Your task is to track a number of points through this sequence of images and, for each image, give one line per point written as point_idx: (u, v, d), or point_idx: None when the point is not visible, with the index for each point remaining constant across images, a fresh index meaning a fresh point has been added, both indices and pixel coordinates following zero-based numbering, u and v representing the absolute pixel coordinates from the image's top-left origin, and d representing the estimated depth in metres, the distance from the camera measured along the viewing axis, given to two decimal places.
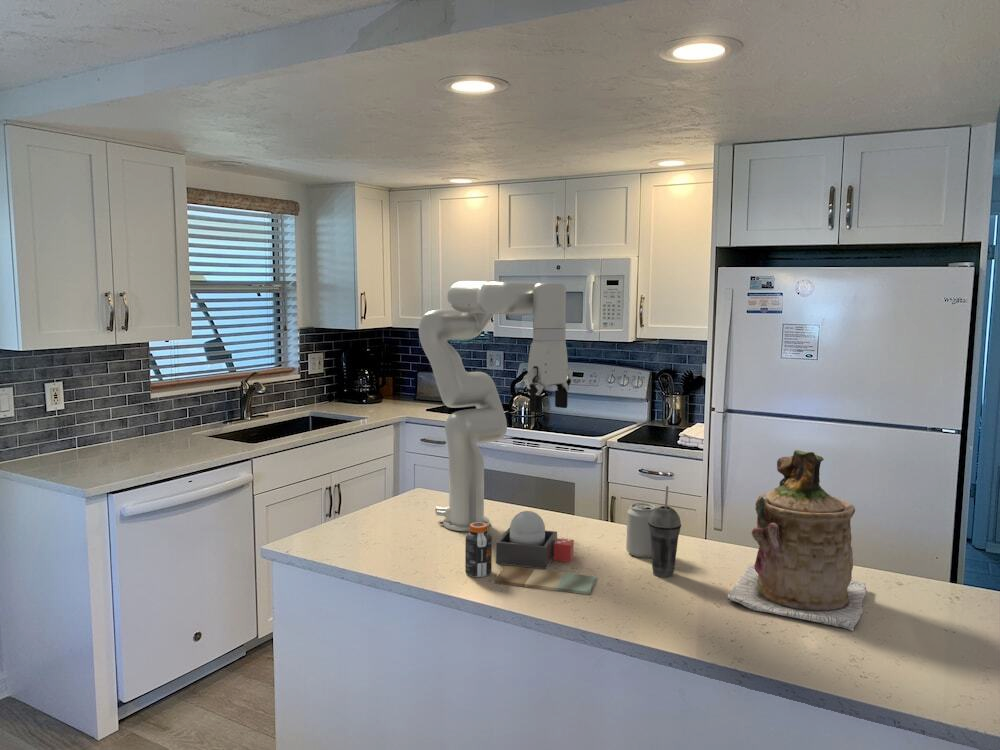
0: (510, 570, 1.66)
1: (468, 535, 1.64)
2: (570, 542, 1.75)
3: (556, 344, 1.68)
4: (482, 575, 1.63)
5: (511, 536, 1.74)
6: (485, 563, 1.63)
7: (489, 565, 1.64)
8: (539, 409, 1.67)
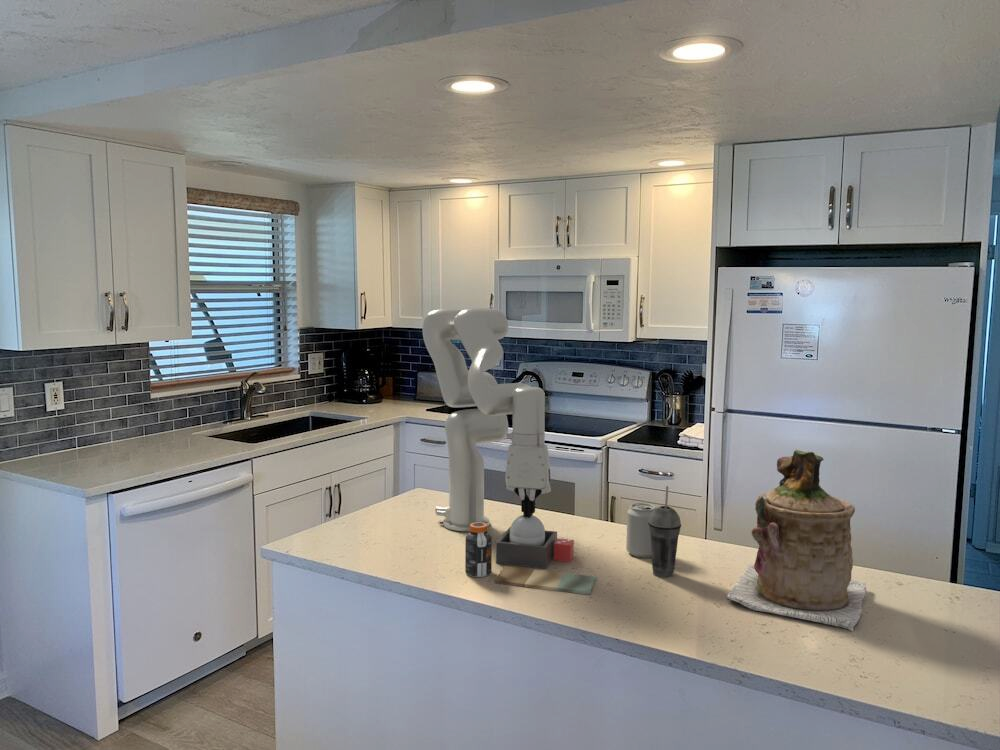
0: (510, 570, 1.66)
1: (468, 535, 1.64)
2: (570, 542, 1.75)
3: None
4: (482, 575, 1.63)
5: (511, 540, 1.74)
6: (485, 563, 1.63)
7: (489, 565, 1.64)
8: None
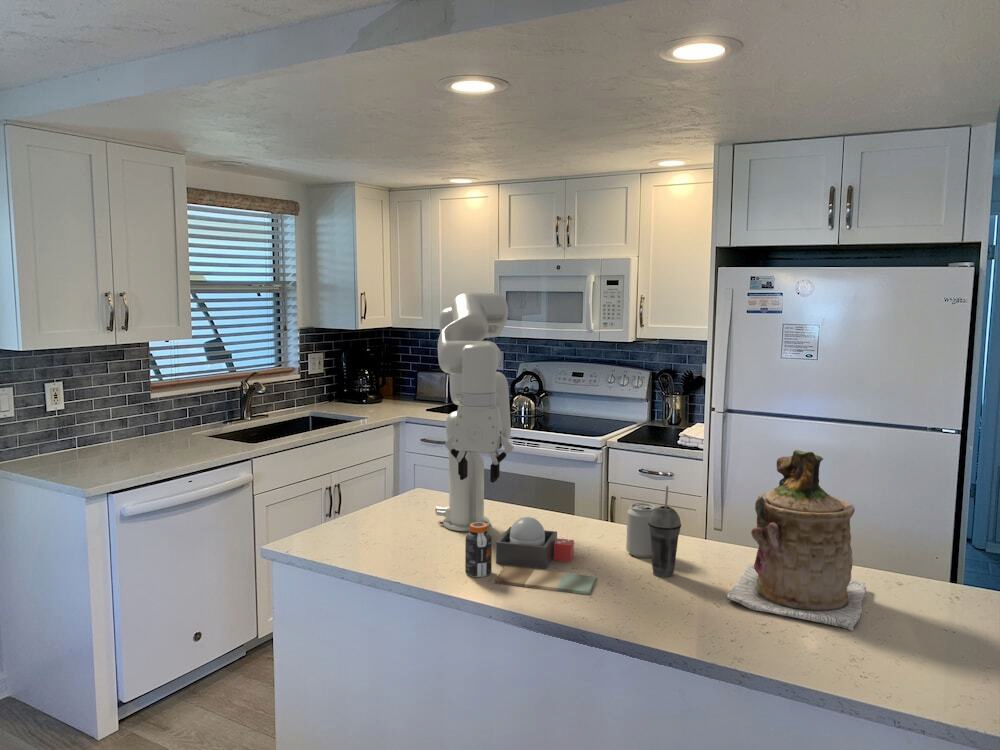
0: (510, 570, 1.66)
1: (468, 535, 1.64)
2: (570, 542, 1.75)
3: None
4: (482, 575, 1.63)
5: (511, 542, 1.74)
6: (485, 563, 1.63)
7: (489, 565, 1.64)
8: None
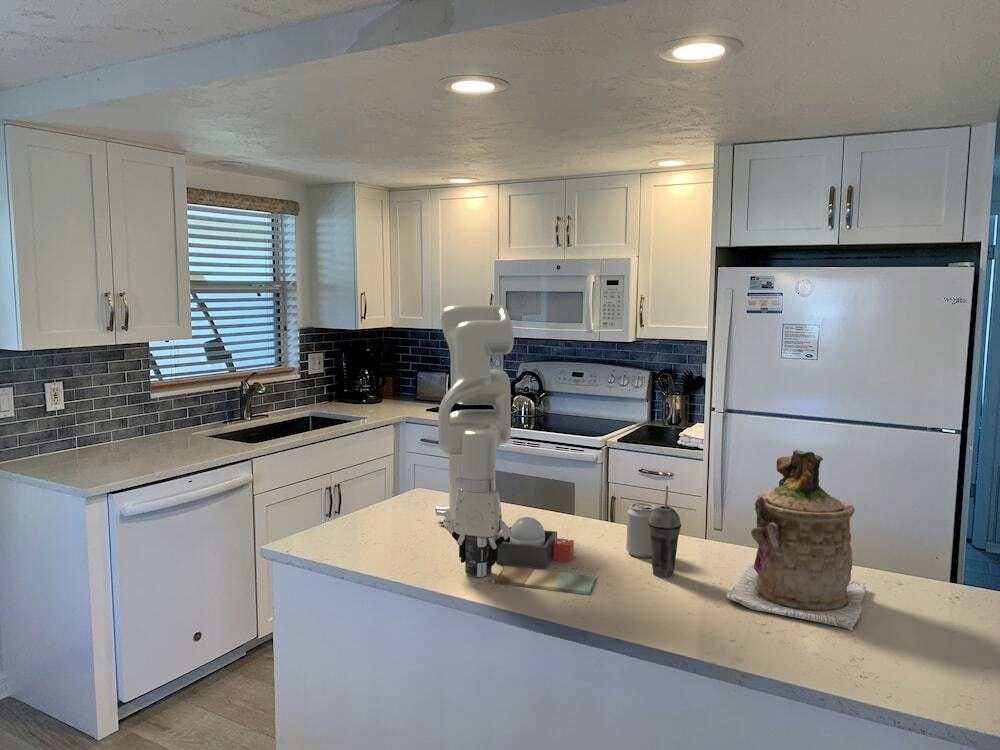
0: (510, 570, 1.66)
1: None
2: (570, 542, 1.75)
3: None
4: (482, 575, 1.63)
5: (511, 542, 1.74)
6: (485, 562, 1.63)
7: (489, 565, 1.64)
8: None
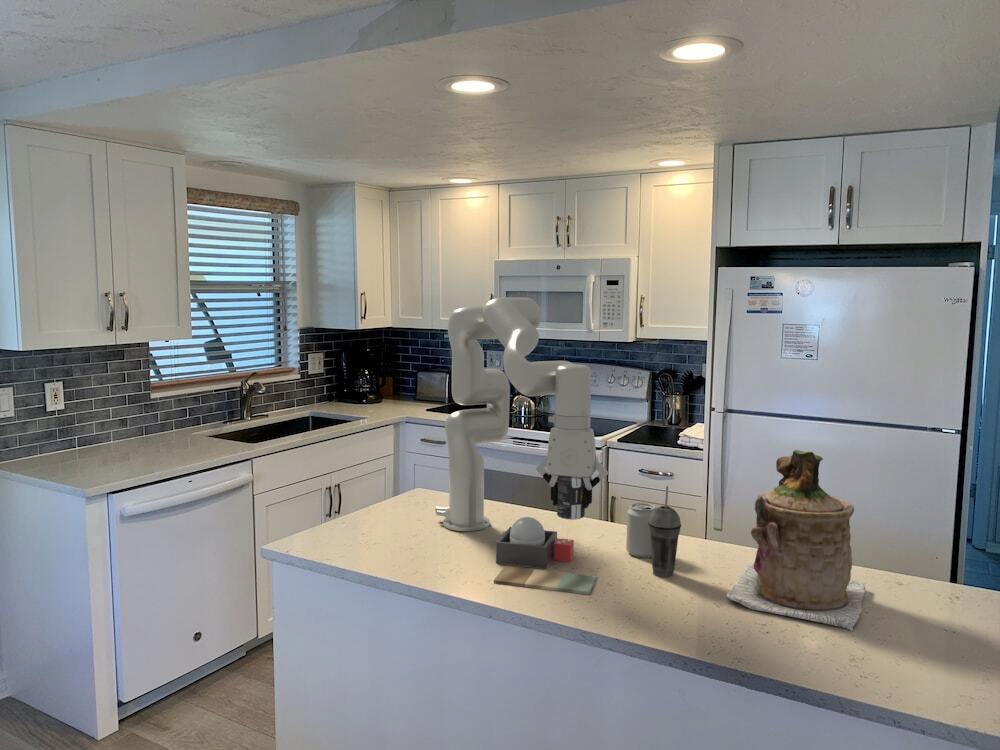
0: (510, 570, 1.66)
1: (561, 476, 1.57)
2: (570, 542, 1.75)
3: None
4: (576, 517, 1.56)
5: (511, 542, 1.74)
6: (580, 504, 1.56)
7: (583, 507, 1.57)
8: None
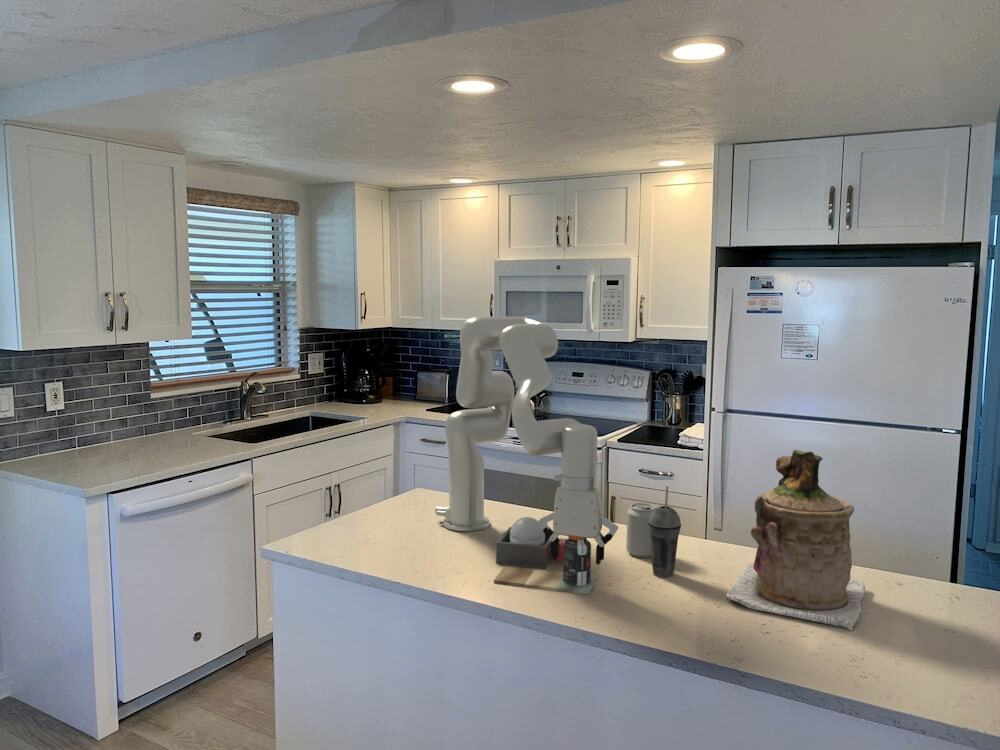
0: (510, 570, 1.66)
1: (567, 542, 1.58)
2: None
3: None
4: (582, 584, 1.57)
5: (511, 542, 1.74)
6: (585, 571, 1.57)
7: (589, 574, 1.58)
8: None
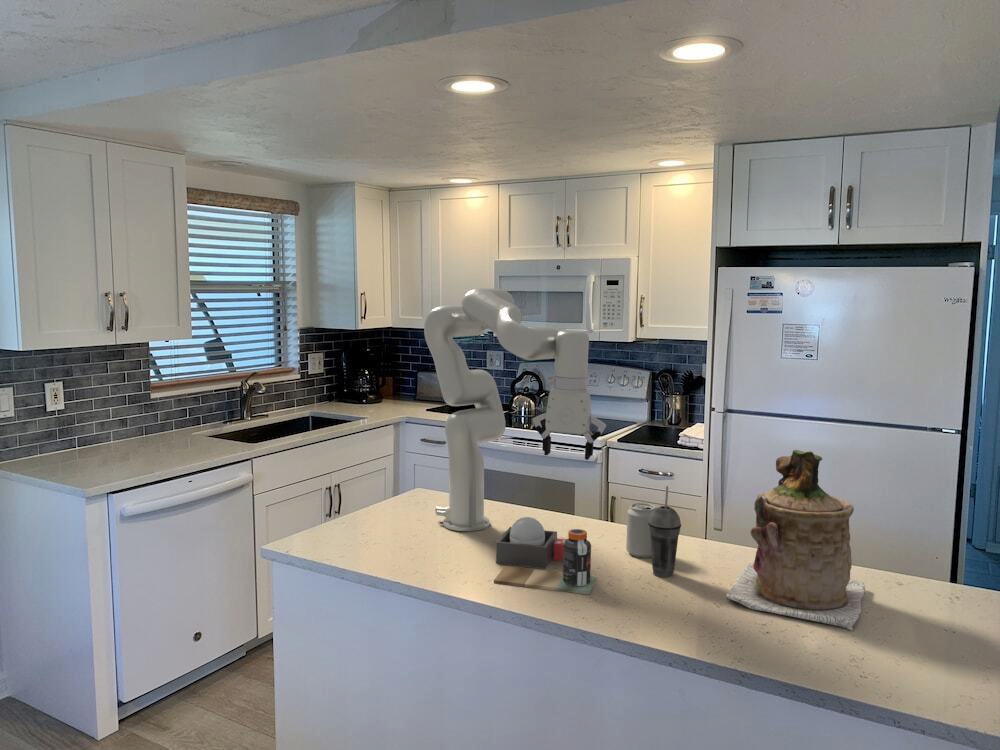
0: (510, 570, 1.66)
1: (567, 542, 1.58)
2: None
3: None
4: (582, 584, 1.57)
5: (511, 542, 1.74)
6: (585, 571, 1.57)
7: (589, 574, 1.58)
8: None
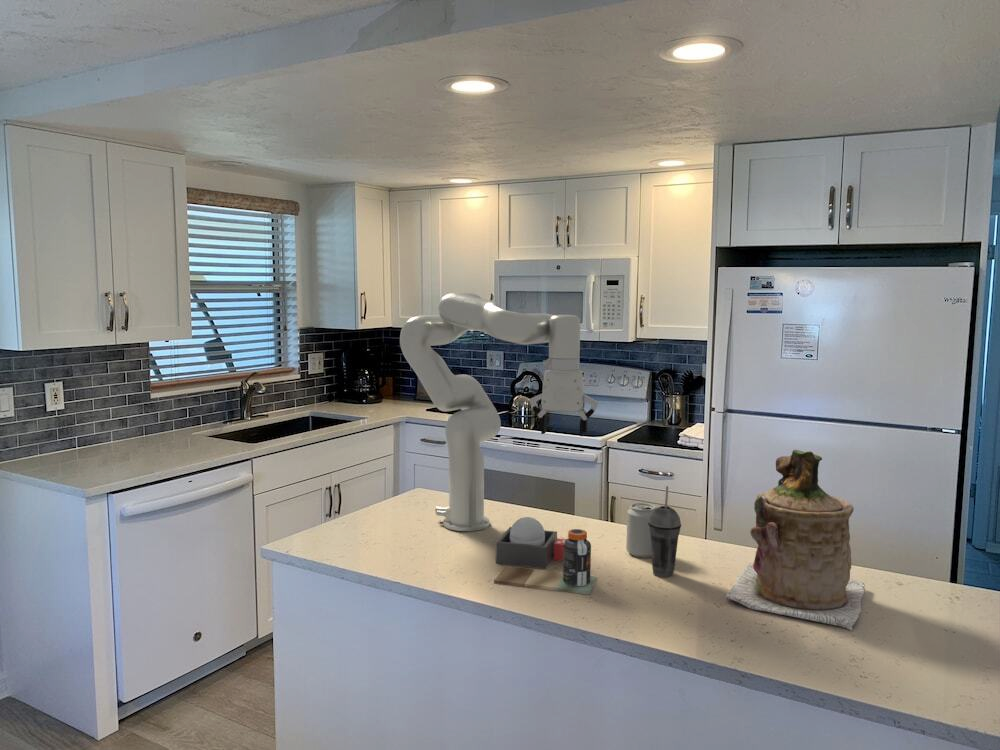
0: (510, 570, 1.66)
1: (567, 542, 1.58)
2: None
3: None
4: (582, 584, 1.57)
5: (511, 542, 1.74)
6: (585, 571, 1.57)
7: (589, 574, 1.58)
8: None
